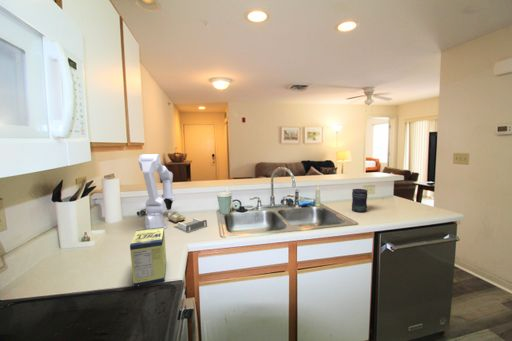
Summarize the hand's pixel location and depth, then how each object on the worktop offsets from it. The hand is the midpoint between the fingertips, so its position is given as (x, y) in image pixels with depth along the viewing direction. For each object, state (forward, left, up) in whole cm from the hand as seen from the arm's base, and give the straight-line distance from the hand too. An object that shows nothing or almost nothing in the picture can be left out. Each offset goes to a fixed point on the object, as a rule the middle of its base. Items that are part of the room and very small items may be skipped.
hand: (168, 209), depth 156 cm
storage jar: (+95, -91, -6) cm, 131 cm away
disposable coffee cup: (+31, -21, -6) cm, 38 cm away
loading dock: (0, -24, -6) cm, 25 cm away
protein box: (-38, -58, -6) cm, 69 cm away
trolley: (0, -10, -6) cm, 11 cm away
